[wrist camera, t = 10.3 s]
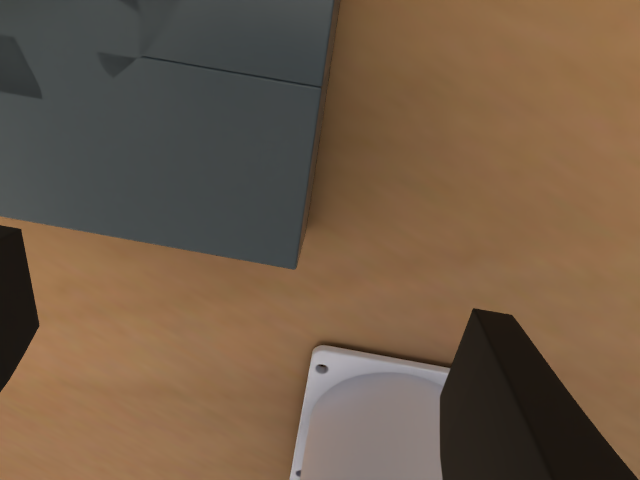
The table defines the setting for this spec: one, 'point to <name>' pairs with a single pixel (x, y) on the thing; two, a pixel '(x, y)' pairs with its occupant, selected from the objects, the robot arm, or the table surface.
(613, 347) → the table surface
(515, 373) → the robot arm
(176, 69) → the hole board
